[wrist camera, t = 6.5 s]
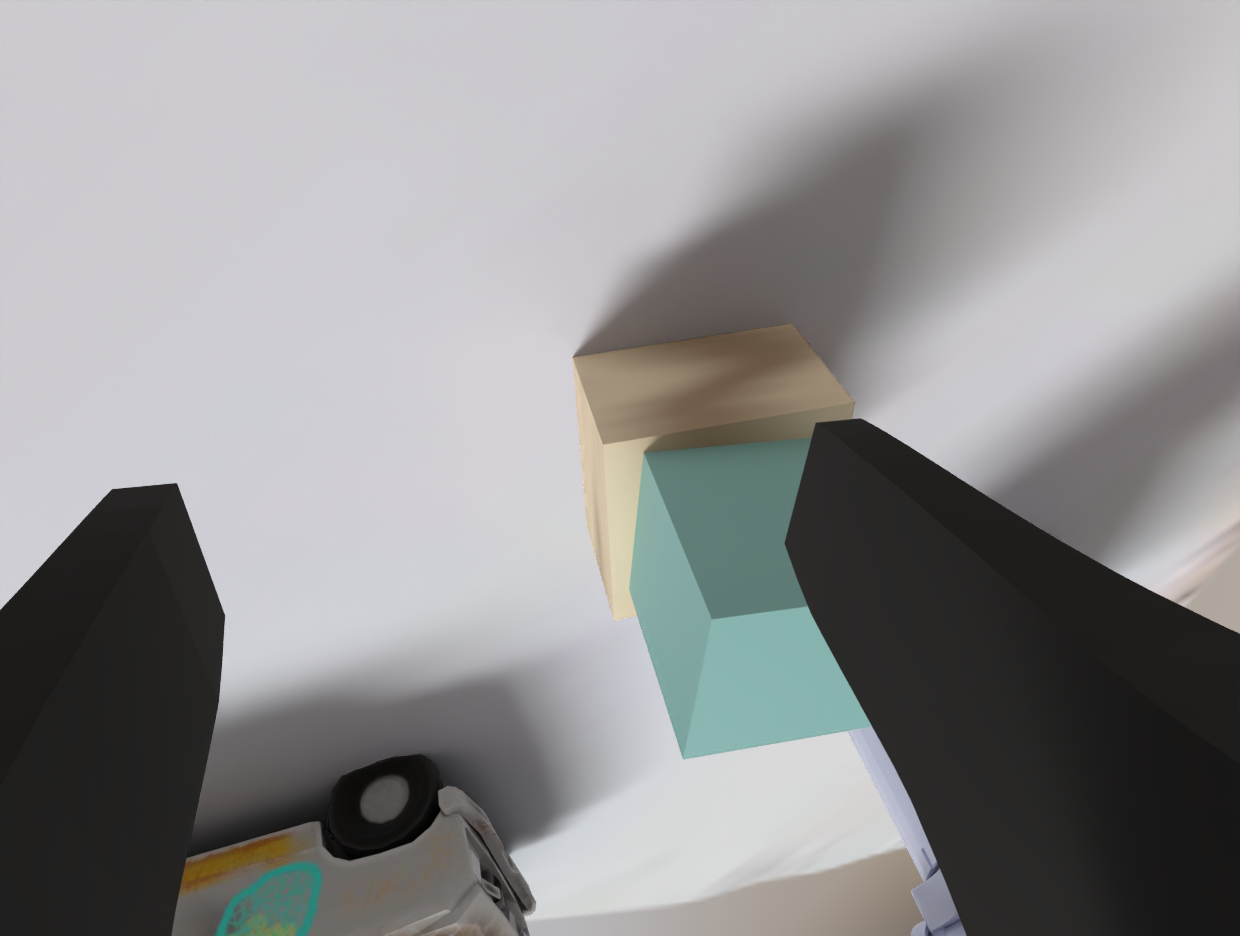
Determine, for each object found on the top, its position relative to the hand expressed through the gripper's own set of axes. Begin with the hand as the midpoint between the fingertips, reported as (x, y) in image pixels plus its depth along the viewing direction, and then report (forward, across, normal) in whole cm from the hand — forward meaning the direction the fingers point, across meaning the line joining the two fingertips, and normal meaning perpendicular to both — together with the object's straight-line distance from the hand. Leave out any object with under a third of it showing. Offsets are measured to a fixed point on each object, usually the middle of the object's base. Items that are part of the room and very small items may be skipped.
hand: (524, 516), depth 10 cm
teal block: (+7, -6, +7) cm, 11 cm away
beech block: (+11, -6, +7) cm, 14 cm away
